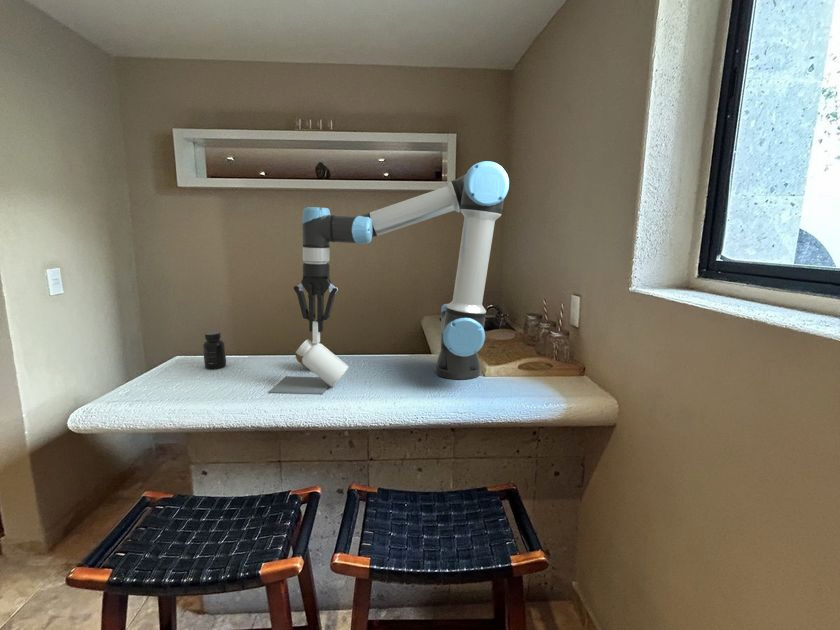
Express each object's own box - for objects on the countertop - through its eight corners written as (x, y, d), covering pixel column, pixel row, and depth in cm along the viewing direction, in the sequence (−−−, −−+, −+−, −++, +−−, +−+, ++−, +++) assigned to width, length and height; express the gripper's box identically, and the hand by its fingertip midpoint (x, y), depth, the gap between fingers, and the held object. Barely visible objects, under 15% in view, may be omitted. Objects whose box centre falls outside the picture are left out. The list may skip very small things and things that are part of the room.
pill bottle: (334, 385, 130) (294, 352, 128) (330, 389, 137) (291, 358, 136) (351, 364, 133) (312, 332, 132) (346, 369, 140) (308, 338, 139)
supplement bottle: (210, 363, 158) (208, 330, 156) (230, 364, 158) (227, 330, 156) (200, 369, 151) (197, 335, 149) (220, 370, 151) (217, 335, 149)
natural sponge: (290, 371, 150) (289, 342, 148) (305, 364, 158) (304, 336, 156) (314, 374, 147) (313, 344, 145) (328, 366, 155) (327, 338, 153)
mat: (335, 378, 143) (335, 377, 143) (322, 394, 129) (322, 393, 129) (285, 377, 144) (285, 376, 144) (268, 393, 130) (268, 391, 130)
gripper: (341, 262, 132) (341, 340, 137) (298, 260, 133) (299, 338, 137) (335, 264, 125) (334, 346, 129) (289, 262, 126) (290, 344, 130)
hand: (316, 342), depth 133 cm, fingers closed
